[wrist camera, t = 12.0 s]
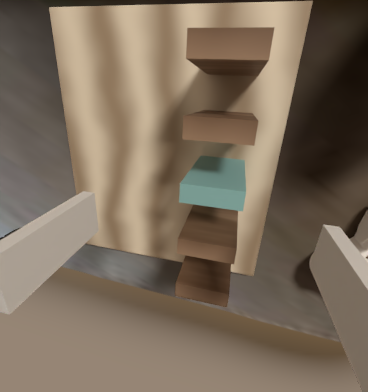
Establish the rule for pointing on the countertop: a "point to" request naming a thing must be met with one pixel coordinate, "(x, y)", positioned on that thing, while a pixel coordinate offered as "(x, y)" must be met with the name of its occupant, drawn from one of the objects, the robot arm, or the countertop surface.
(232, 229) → the domino
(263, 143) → the birch board
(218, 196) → the domino
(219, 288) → the domino
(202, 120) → the domino
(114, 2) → the countertop surface
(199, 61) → the domino
